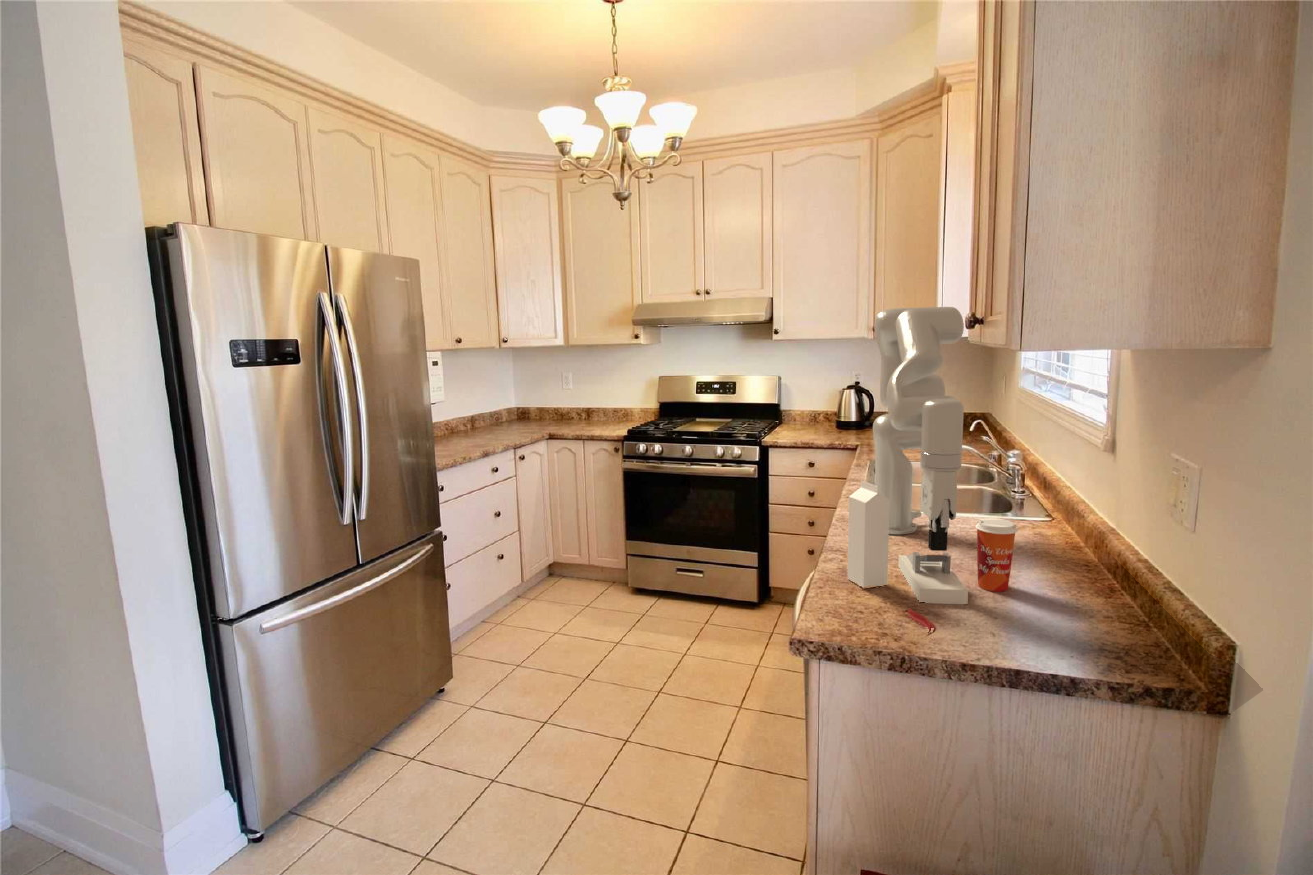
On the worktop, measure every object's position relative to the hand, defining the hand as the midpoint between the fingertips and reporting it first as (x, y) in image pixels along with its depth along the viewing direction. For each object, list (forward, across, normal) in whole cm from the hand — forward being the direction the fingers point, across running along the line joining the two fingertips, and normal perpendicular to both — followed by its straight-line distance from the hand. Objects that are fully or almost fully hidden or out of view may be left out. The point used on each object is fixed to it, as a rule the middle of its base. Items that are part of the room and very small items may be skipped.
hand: (937, 549), depth 134 cm
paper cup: (+9, -4, +12) cm, 16 cm away
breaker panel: (+9, -4, 0) cm, 10 cm away
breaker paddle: (+3, -4, 0) cm, 5 cm away
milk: (+9, -4, -13) cm, 17 cm away
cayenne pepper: (+10, +14, -6) cm, 19 cm away
